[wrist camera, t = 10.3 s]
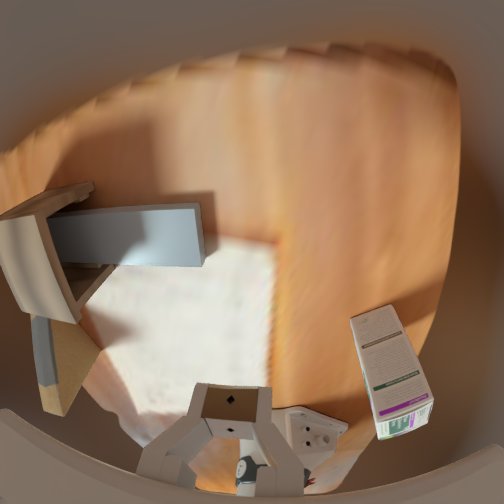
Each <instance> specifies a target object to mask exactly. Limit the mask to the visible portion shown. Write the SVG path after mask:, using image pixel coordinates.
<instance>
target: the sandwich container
mask: <svg viewBox="0 0 504 504" xmlns="http://www.w3.org/2000/svg"><path fill="white" fill-rule="evenodd" d="M31 326H32V339H33V349H34V358H35V365H36V371H37V378H38V384H39V389H40V395H41V400H42V404H43V409H44V411H46V412H49V413H52V414H55V415H59V416H63V417H64V416H65V415H66V413H67V411H68V409H69V407H70V405H71V404H72V402H73V400H74V398H75V396H76V394H77V392H78V390H79V388H80V387H81V385H82V383H83V381H84V379H85V378H86V376H87V374H88V372H89V371H90V369H91V367H92V365H93V364H94V362H95V360H96V358H97V357H98V355H99V353H100V352H101V350H100V349H99V347H98V346H97V345H96V344H95V343H94V342H93V340H92V339H91V338H90V337H89V336H88V334H87V333H86V332H85V331H84V330H83V328H82V327H81V326H80V325H79V323H77V324H72V323H68V322H63V321H59V320H55V319H50V318H46V317H42V316H38V315H34V314H31Z"/></svg>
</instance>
